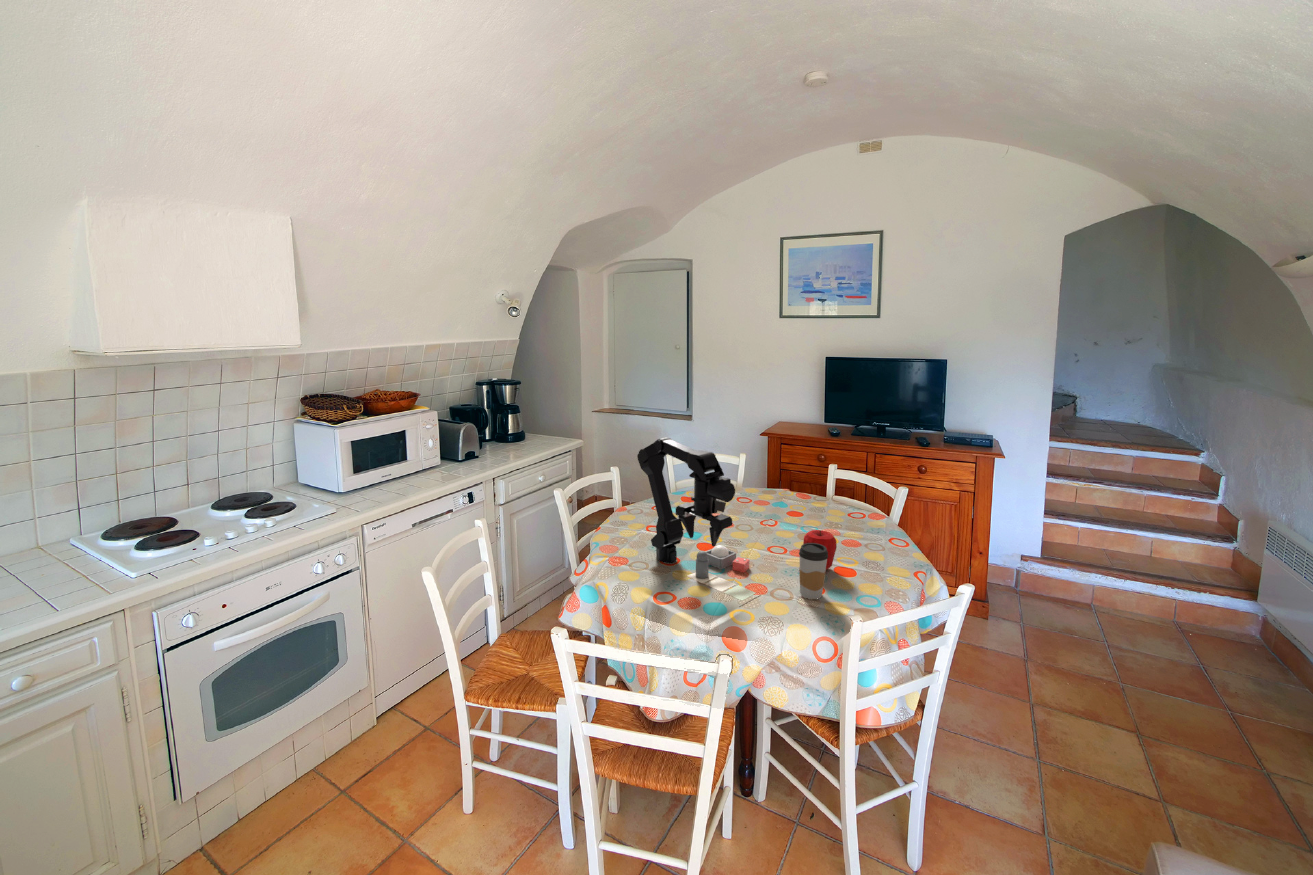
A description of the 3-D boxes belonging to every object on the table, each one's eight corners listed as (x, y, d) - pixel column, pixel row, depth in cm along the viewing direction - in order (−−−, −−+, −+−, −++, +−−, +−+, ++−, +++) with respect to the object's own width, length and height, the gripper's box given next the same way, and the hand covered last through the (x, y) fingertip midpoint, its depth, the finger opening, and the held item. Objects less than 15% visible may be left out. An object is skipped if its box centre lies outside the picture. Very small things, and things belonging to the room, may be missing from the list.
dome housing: (702, 565, 199) (703, 552, 198) (718, 558, 204) (718, 545, 203) (721, 572, 193) (721, 559, 192) (736, 565, 199) (736, 552, 198)
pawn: (692, 576, 188) (693, 551, 186) (701, 572, 191) (702, 547, 189) (702, 580, 185) (702, 555, 184) (711, 576, 188) (711, 551, 186)
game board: (681, 580, 188) (681, 576, 188) (703, 570, 195) (703, 567, 194) (739, 607, 172) (739, 603, 172) (761, 595, 179) (761, 591, 178)
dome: (706, 562, 199) (707, 545, 197) (718, 557, 203) (719, 540, 201) (720, 568, 194) (721, 551, 193) (732, 563, 198) (733, 545, 197)
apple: (835, 577, 190) (838, 537, 187) (802, 574, 192) (804, 534, 189) (833, 563, 200) (835, 525, 197) (801, 561, 202) (803, 522, 199)
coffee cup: (820, 588, 183) (823, 541, 180) (829, 601, 175) (832, 553, 172) (793, 588, 183) (795, 542, 179) (800, 601, 175) (803, 553, 171)
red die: (732, 573, 193) (732, 560, 192) (737, 568, 196) (737, 555, 195) (744, 575, 191) (744, 563, 190) (748, 571, 194) (749, 558, 193)
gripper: (744, 494, 181) (742, 543, 185) (698, 481, 194) (697, 527, 198) (720, 503, 174) (719, 553, 177) (674, 488, 187) (674, 536, 190)
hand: (702, 541), depth 186 cm, fingers open, 9 cm apart
